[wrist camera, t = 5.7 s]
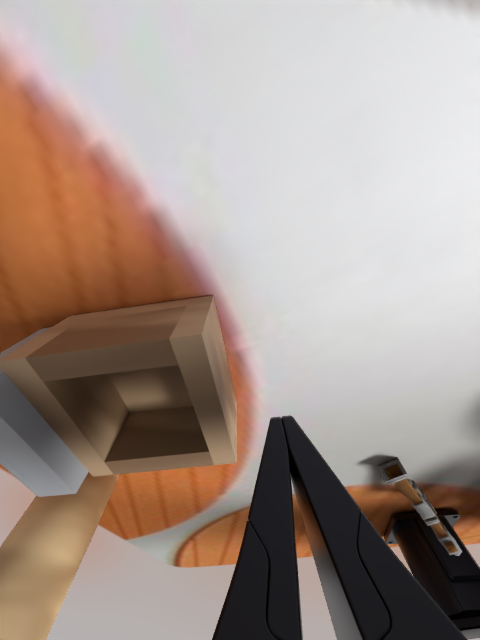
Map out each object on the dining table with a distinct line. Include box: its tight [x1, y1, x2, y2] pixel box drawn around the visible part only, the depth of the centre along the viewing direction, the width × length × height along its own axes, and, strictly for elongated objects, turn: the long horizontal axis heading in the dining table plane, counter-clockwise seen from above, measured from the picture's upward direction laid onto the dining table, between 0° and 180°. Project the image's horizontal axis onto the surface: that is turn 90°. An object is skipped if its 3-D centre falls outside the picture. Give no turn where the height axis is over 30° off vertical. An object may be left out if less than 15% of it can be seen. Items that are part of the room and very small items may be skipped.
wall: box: [0, 327, 89, 497], centre depth 11 cm, size 7×2×5 cm, turn 8°
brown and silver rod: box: [378, 457, 462, 556], centre depth 18 cm, size 2×8×4 cm, turn 42°
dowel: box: [0, 472, 120, 640], centre depth 11 cm, size 4×4×13 cm
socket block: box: [0, 295, 237, 477], centre depth 11 cm, size 8×8×4 cm
